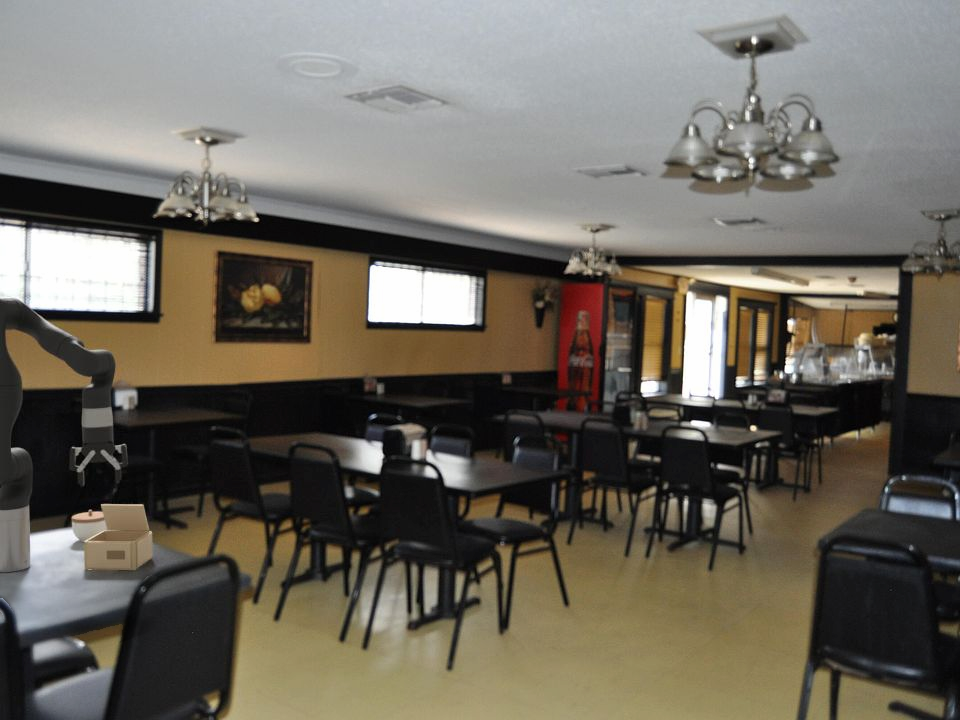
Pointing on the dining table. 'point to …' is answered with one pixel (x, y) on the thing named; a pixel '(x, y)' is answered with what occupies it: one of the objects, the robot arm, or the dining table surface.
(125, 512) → the flap
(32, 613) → the dining table surface
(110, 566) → the carton
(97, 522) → the lidded jar
